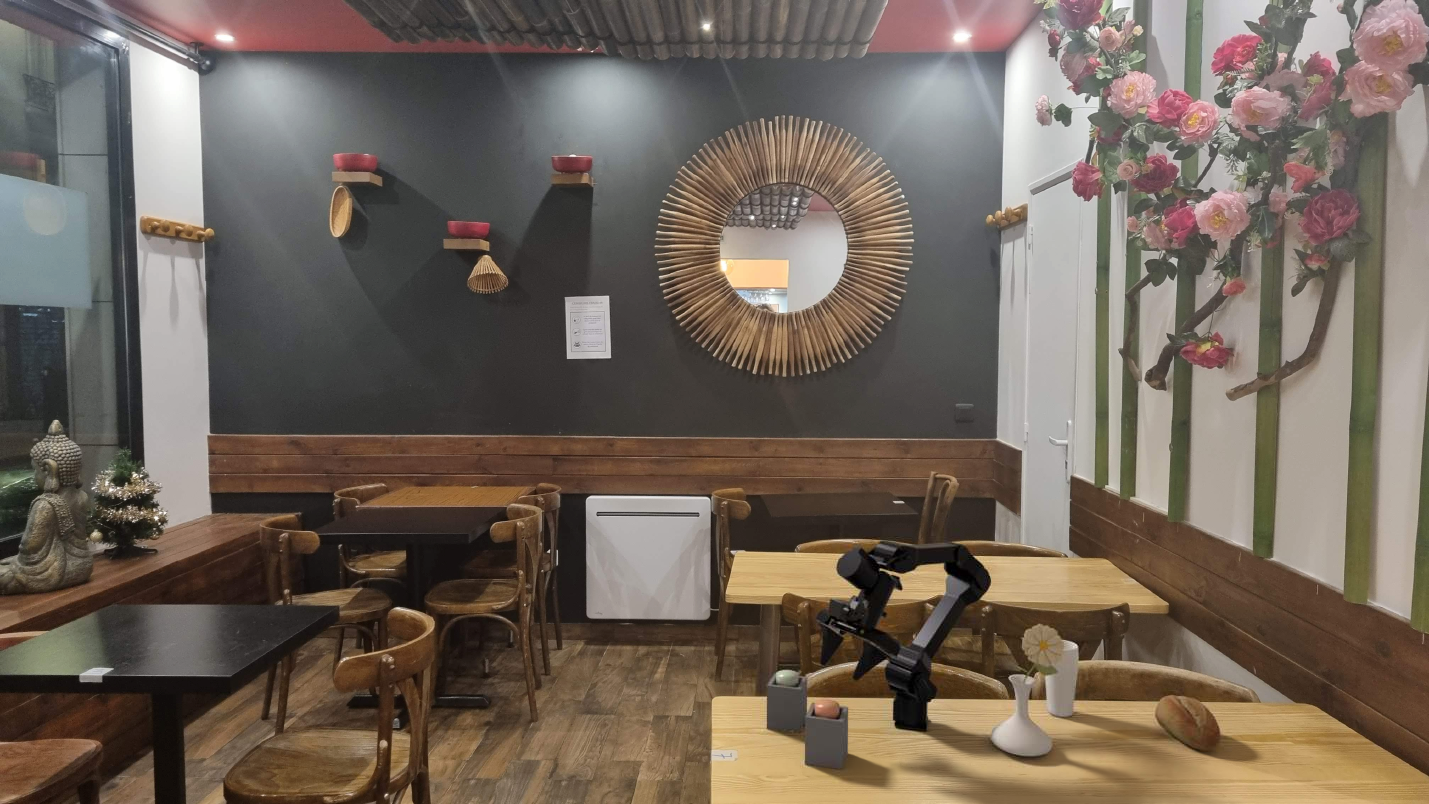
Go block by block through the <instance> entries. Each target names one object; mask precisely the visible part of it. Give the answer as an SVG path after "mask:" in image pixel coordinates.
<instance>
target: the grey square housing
mask: <svg viewBox="0 0 1429 804" xmlns="http://www.w3.org/2000/svg"><path fill="white" fill-rule="evenodd" d="M848 747H849V707H848V706H844V705H843V706H842V705H839V720H837V719H830V718H822V717H815V702H811V704H810V706H809V708H808V709H807V714H806V716H805V724H804V765H806V766H814V767H821V768H827V767H829V768H828V769H835V770H841V771H842V770H843V768H844V766H843V765H845V763H844V762H846V759H847V757H848V756H847V755H848V752H849V748H848Z"/></svg>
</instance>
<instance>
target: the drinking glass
mask: <svg viewBox="0 0 1429 804" xmlns="http://www.w3.org/2000/svg"><path fill="white" fill-rule="evenodd" d="M1061 641H1063V642H1064V649H1063V651H1064V654H1062V660H1061V661H1058V662H1057V663H1056V664H1053V663H1052V666H1053V667H1054V668H1055V669H1056V670H1057V671H1058V673H1056V674H1053V675H1048V676H1045V675H1044V679H1045V691H1046V692H1045V694H1046V695H1045V696H1046V697H1045V698H1046V711H1047V712H1048V713H1049V714H1050V715H1052V716H1055V717H1059V718H1070V717H1071V716H1072V715H1073V714H1074V704H1075V695H1076V694H1075V693H1076V689H1077V688H1076V686H1077V677H1078V672H1079V670H1078V669H1079V646H1078V644H1077V643H1075V642H1073V641H1070V640H1065V639H1061Z"/></svg>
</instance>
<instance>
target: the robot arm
mask: <svg viewBox="0 0 1429 804" xmlns="http://www.w3.org/2000/svg"><path fill="white" fill-rule="evenodd" d="M939 564H943V570H944V571H945V573H946V575H947V577H946V579H945V593H944V595H943V596H942V598H941V599H940V601H939V603H938V604H937V606H936V607H935V608H934V610H933V611H932V613H931V614H930V616H929V617H928V619H927V620H926V622H925V623H924V625H923V626H922V628H921V629H920V631H919V632H918V633H917V635H916V637H915V638H914V639H913V641H912V643H911V644H910V645H908V646H906V647H904V646H902V645H901V644H900V641H899V640H897V639H896V638H894V637H893V636H892V635H890V634H889V633H887V632H886V631H884V630H881V629H877V626H878V624H879V622H880V619H881V618H884V619H886V617H887V616H888V612H886V611H885V609H886V607H887V605H888V603H889V601H890V599H891V598H892V597H891V596H892V594H893V592H894V590H898V591H900V592H901V591H903V588H904V587H903V584H902V582H901V577H900V576H898V575H894V574H890V573H889V572H892V573H897V574H900V575H904V574H907V573H910V572H913V571H915V570H916V569H917V567H920V566H928V565H929V566H930V565H939ZM835 569H836V572H837V575H838V576H840V577H841V578H842V579H844V580H845V581H846V582H848V583H849V584H851V585H852V587H854V588H855V589H857V590H859V593H858V595H854V594H853V595H852V596H851V597H850V599H849V600H848V601H847V600H844V599H837V598H829V603H828V608H827V609H824V608H823V609H820V610H819V611H818V613H817V615H816V616H815V619H814V620H815V621H817V622H818V623H817V626H818V627H819V628H820V629H821V633H822V645H821V651H820V652H821V654H820V658H819V659H820V660H819V664H820V665H821V666H822V667H824V666H826V665H827V663H828V662H829V661H830V659H832V657H833V656H834V654H835V653H836V651H837V650H838V649H839V647H840V646H841V644H842V643H843V642H844V640H845V637H843V636H844V635H845V634H850V635H851V636H855V637H857V638H859V639H862V653H861V655H860V657H859V660H858V662H857V665H856V667H855V669H854V671H853V674H852V680H854V681H855V682H856V681H857V682H858V681H859V680H860V679H861V678H862V677H864V676H865V675H867V673H869V672H870V671H871V670H873V669H874V668H875V667H877V666H878V665H879V664H881V663H883V662H884V661H886V660H887V661H888V662H887V663H886V665H885V667H884V675H885V680H886V682H887V685H888V689H889V690H890V691H893V692H895V693H896V694H895V696H894V697H893V699H892V700H893V701H892V720H893V722H894V727H895V728H898V727H900V728H899V729H906V730H914V731H920V732H921V731H923V732H926V731H927V730H928V726H929V725H928V724H929V716H928V706H929V705H928V704H929V703H931V702H932V700H934V699H935V698H936V695H937V692H938V687H937V686H936V685H935V684H934V683H933V681H931V680H930V678H931V676H932V661H933V658H934V657H935V655H936V653H937V652H938V650H939V649H940V647H941V646H942V644H943V643H944V641H945V640H946V638H947V637H948V636H949V634H950V632H951V631H952V629H953V627H954V626H955V624H956V623H957V622H958V619H959V618H960V617H961V615H962V614H963V612H964V611H965V609H966V607H968V606H970V605H973V604H975V603H976V602H978V601H979V600H981V599H982V598H983V597H984V595H985V594H986V593H987V592H988V590H989V589H990V587H991V584H992V578H991V576H990V572H989V571H988V569H986V568H985V566H984V564H983V563H982V562H981V561H979V559H977V558H976V557H975V556H974V555H973V554H972V553H971V551H969V549H968V547H967V546H965V545H964V544H961V543H957V542H952V541H949V540H948V541H943V542H939V543H918V544H906V543H901V542H896V541H890V540H885V539H883V540H880V541H879V542H877V545H876V546H875V547H873V548H871V549H869V550H868V551H866V550H865V549H864V548H862V547H860V546H856V545H854V546H853V547H852V549H851V550H849V551H847V552H846V553H843V555H841V557H839V558H838V561H837V562H836V568H835ZM864 640H865V641H864Z"/></svg>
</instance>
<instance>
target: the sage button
mask: <svg viewBox="0 0 1429 804" xmlns="http://www.w3.org/2000/svg"><path fill="white" fill-rule="evenodd" d="M775 673H776V685H780V686H788V687H796V688H798V679H799V676H800V675H799V674H800V673H799V672H797V671H794V670H791V669H782V670H779V671H777V672H775Z"/></svg>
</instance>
